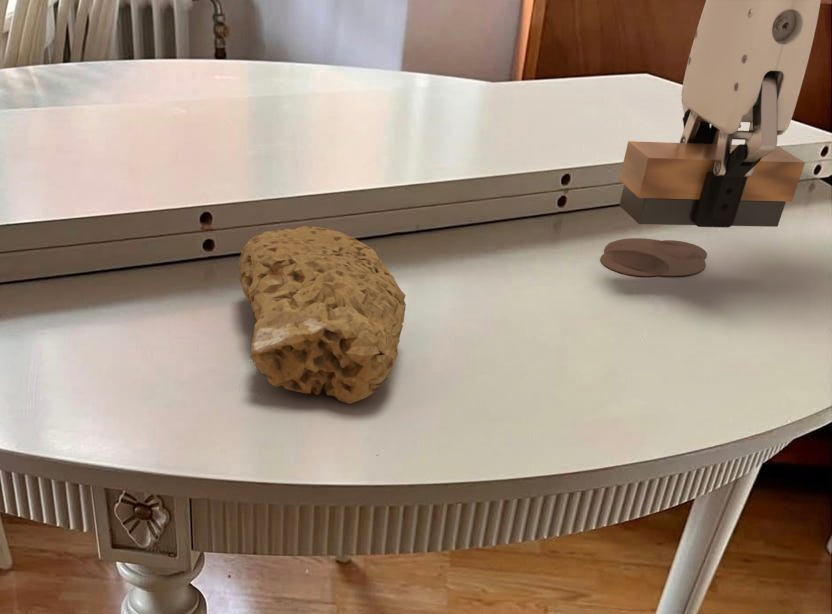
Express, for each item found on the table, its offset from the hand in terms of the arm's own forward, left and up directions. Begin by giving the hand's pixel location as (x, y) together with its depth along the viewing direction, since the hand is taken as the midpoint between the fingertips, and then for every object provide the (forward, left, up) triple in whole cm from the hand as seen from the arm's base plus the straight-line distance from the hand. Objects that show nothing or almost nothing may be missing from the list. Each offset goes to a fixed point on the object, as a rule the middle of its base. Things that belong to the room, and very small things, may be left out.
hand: (699, 212), depth 81 cm
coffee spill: (0, -6, -6) cm, 9 cm away
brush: (0, 0, 0) cm, 0 cm away
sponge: (+33, +10, -6) cm, 35 cm away
